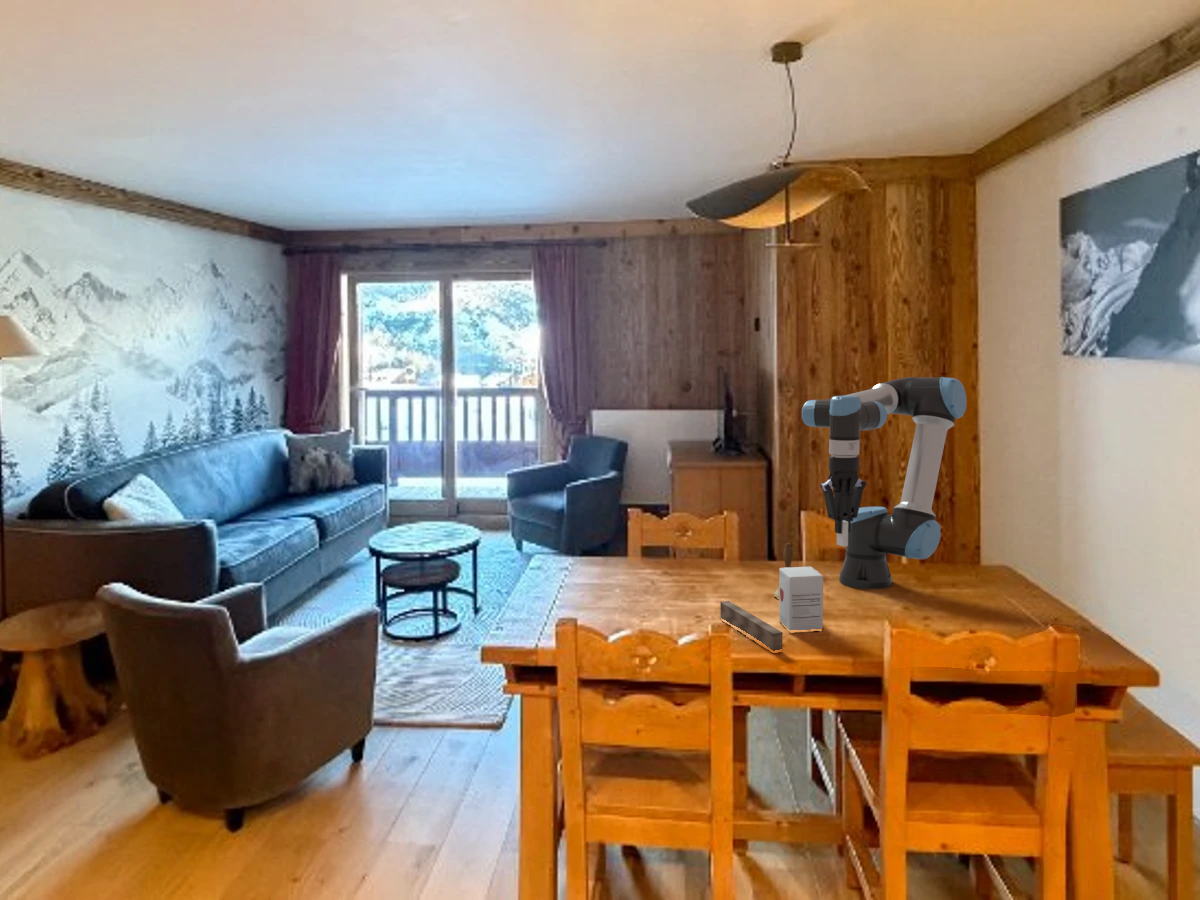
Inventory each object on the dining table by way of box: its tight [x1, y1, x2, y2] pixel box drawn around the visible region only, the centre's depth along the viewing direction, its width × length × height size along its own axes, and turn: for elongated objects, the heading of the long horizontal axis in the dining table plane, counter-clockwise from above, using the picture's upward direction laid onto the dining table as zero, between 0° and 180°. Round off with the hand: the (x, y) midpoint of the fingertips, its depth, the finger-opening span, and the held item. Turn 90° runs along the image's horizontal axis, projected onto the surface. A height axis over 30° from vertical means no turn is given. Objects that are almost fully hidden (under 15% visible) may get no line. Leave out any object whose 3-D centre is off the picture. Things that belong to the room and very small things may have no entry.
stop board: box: [720, 600, 783, 651], centre depth 202 cm, size 26×2×5 cm, turn 20°
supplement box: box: [778, 565, 824, 630], centre depth 206 cm, size 9×9×15 cm
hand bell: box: [773, 542, 794, 597], centre depth 231 cm, size 8×8×16 cm
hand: (842, 545), depth 209 cm, fingers closed
